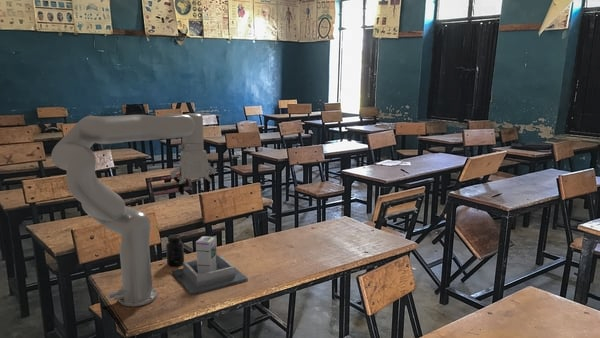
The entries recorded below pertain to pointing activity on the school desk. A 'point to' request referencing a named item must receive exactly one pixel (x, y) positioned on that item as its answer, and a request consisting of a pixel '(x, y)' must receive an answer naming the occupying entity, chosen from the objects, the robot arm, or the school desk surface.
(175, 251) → the supplement bottle
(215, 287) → the socket
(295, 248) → the school desk surface
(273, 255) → the school desk surface
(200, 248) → the syrup box
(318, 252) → the school desk surface
